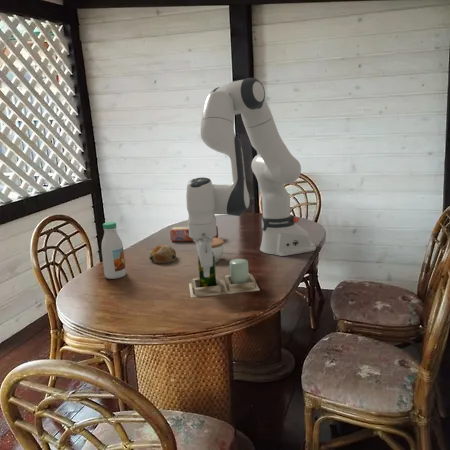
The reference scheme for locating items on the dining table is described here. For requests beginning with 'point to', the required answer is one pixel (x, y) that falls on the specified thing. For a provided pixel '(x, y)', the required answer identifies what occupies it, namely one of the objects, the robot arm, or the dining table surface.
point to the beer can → (212, 278)
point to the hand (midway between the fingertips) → (205, 271)
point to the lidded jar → (217, 248)
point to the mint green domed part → (239, 271)
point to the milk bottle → (112, 252)
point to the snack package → (183, 234)
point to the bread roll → (162, 254)
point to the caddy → (222, 287)
